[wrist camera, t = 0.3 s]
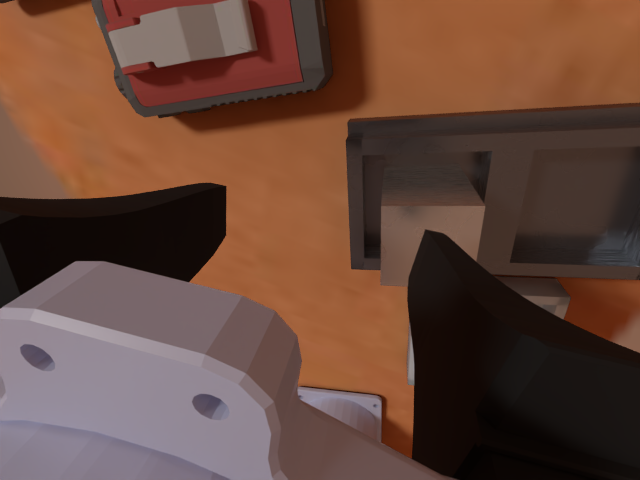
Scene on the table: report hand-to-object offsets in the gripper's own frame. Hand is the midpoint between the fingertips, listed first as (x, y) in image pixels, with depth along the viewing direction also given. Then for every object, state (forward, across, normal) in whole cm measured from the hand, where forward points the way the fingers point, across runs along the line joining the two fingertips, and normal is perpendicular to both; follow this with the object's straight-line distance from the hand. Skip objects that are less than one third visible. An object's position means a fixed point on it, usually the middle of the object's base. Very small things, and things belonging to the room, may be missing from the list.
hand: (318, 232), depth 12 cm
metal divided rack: (+10, -8, 0) cm, 13 cm away
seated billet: (+9, -4, +1) cm, 10 cm away
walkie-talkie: (+10, +11, -5) cm, 16 cm away
